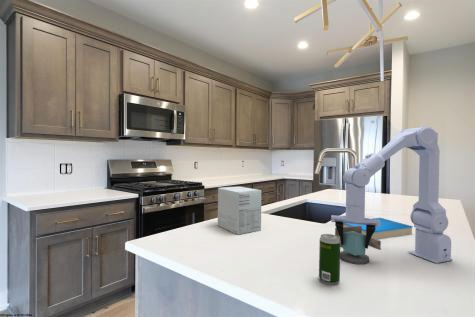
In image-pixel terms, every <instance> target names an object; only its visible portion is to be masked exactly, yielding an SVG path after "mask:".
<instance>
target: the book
mask: <svg viewBox="0 0 475 317" xmlns="http://www.w3.org/2000/svg"><path fill="white" fill-rule="evenodd" d="M371 219H375V220H380V227H376V226H375V228H376V230H375V232H374V233H373V235H372V238H374V239H377V240H380V239H387V238H392V237H393V238H394V237H400V236H406V235H408V236H409V235H412V234H413V228H414V225H413V226H412V225H409V224H406V223H401V222H397V221H394V220H390V219H386V218H383V217H374V218H371ZM350 226H362V234H364V235H366V225H359V224H349V223H343V227H350Z"/></svg>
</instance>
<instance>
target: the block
mask: <svg viewBox="0 0 475 317" xmlns="http://www.w3.org/2000/svg"><path fill="white" fill-rule="evenodd" d="M343 241H344V242H343V247H342V249H343V250H342V251H346V252H348V253H350V254H353V255H355V256H356V255H361V254H366V248H365V244H366V235H364V234H361V233H358V232H355V231H351V232H344V233H343Z"/></svg>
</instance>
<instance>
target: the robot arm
mask: <svg viewBox="0 0 475 317" xmlns="http://www.w3.org/2000/svg"><path fill="white" fill-rule="evenodd" d="M438 134H439V133H438V132H437V131H436V130H435V129H433V128H432V127H431V126H428V125H427V126H425V125H424V126H422V127H414V128H404V129H402V130H401V131H399V132H398V133H396V134H395V135H394V137H393V138H392V139H391V140H390V141H388V143H387V144H386V145H384V146H383V147H382V148H381V149H380V150H379V151H378V152H377V153H374V152H373V153H367V154H366V155H365V158H364V159H362V160H361V161H360V162H359V163H355V164H354V166H353V167H352V168H350V167H349V168H347V170H346V171H345V172H344V174H343V175H342V180H343V182H344V183H345V188H346V189H345V215H332V214H331V218H330V219H331V220H330V222H331V223H334V226H335V228H337V231H338V233H339V236H340V240H341V245H343V242H344V241H343V223H349V224H359V225H366V244H365V248H366V249H367V250H368V249H369V246H370V245H369V242H370V239H371V237H372V235H373V233H374V232H375V230H376V228H375V226H376V227H380V220H375V219H372V218H369V217H366V216H365V213H366V212H365V211H366V210H365V209H366V186H367V185H368V184H369V183H370V179H371V178H372V177H373V176H374V175H375V174H377V173H378V172H379V171H380V170H381V169H383V168H384V167H385V165H386V164H385V161H387V160H388V159H389V158H391V157H392V156H394V155H395V154H397V153H398V152H399V151H401V150H403V149H404V148H407V149H408V150H409V149H410V150H412V151H413V152H415V154H417V155H418V156H419V162H418V164H419V165H418V167H419V168H418V169H419V170H418V171H419V172H418V201H416V202H414V204H412V211H411V212H410V218H409V219H410V221H411V223H412V224H413V228H415V236H414V238H415V239H414V240H415V241H414V250H410V251H408V254H411V255H413V256H416V257H419V258H422V259H425V260H426V261H429V262H432V263H434V264H439V263H445V262H450V261H453V258H452V239H451V237H450V236H449V235H447V234H444V231H446V229H448V226H449V219H448V216H447V210H446V208H445V207H443V205H441V203H439V193H440V192H439V190H440V189H439V188H440V187H439V186H440V184H439V183H440V153H441V152H440V146H439V144H438V137H439V136H438Z"/></svg>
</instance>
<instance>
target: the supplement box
mask: <svg viewBox="0 0 475 317" xmlns="http://www.w3.org/2000/svg"><path fill="white" fill-rule="evenodd" d="M217 226H218V227H221V228H224V230H227V231H229V232H231V233H233V234H235V235H243V234H247V233H248V234H249V233H254V232H257V231H262V189H257V188H251V187H245V186H225V187H224V186H223V187H217Z"/></svg>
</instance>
